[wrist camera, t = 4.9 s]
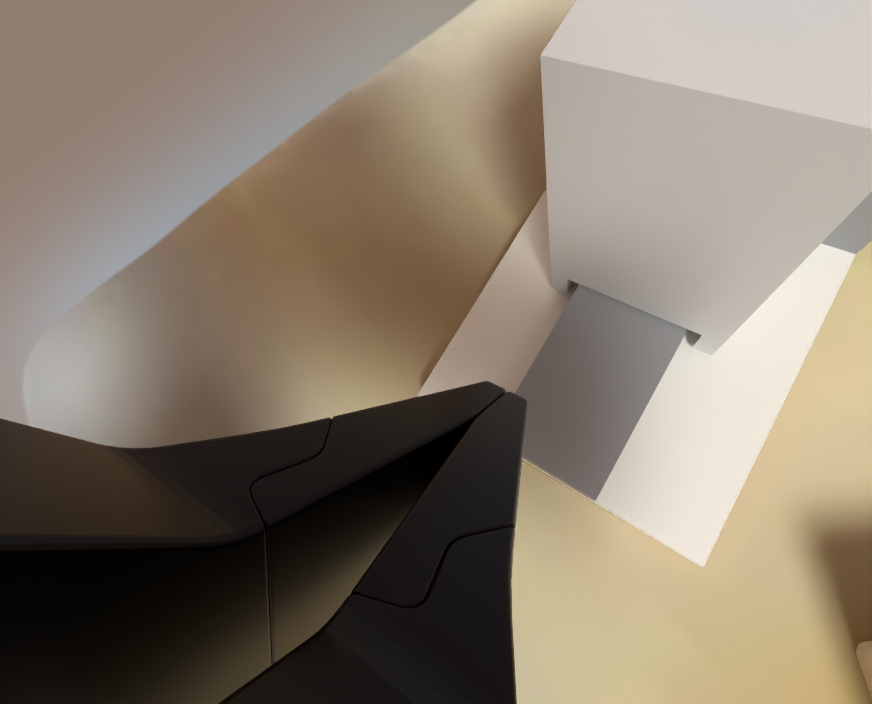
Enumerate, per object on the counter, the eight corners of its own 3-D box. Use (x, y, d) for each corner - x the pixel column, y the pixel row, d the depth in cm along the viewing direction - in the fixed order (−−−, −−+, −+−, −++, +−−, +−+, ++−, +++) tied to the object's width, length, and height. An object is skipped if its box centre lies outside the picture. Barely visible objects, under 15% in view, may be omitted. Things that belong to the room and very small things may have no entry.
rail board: (695, 564, 14) (786, 600, 8) (423, 399, 17) (358, 348, 12) (855, 237, 15) (1021, 83, 10) (576, 153, 19) (582, 7, 14)
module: (711, 355, 14) (971, 88, 5) (551, 286, 16) (538, 9, 7) (779, 227, 15) (1109, -204, 6) (617, 176, 17) (679, -200, 8)
